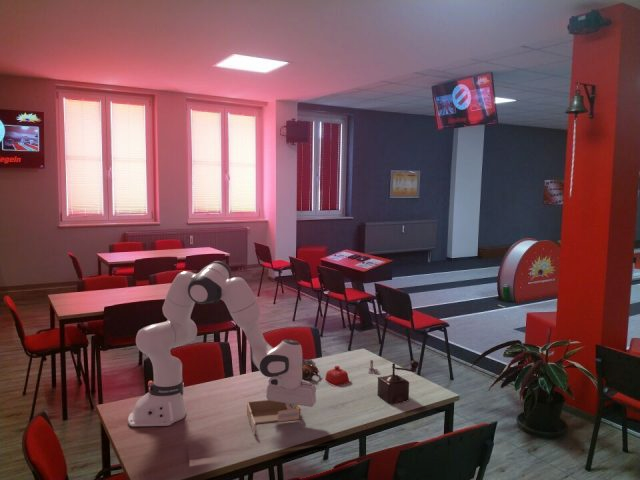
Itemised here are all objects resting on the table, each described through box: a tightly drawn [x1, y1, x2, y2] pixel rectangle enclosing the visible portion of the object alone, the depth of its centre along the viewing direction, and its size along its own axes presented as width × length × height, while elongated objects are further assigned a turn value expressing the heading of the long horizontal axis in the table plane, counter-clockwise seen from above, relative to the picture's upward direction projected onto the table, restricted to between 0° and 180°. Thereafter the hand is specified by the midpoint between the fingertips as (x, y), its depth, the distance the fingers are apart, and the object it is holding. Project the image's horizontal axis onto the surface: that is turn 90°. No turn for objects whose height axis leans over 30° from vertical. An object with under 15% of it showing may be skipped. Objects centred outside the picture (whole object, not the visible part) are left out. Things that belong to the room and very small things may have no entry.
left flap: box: [249, 413, 256, 435], centre depth 189 cm, size 9×1×4 cm, turn 16°
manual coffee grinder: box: [377, 360, 420, 405], centre depth 220 cm, size 16×11×18 cm
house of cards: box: [368, 359, 378, 375], centre depth 250 cm, size 9×9×8 cm
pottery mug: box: [301, 363, 319, 381], centre depth 243 cm, size 12×9×8 cm
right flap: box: [278, 407, 302, 423], centre depth 197 cm, size 9×1×4 cm, turn 110°
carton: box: [246, 399, 301, 426], centre depth 201 cm, size 20×10×5 cm, turn 106°
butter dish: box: [325, 365, 353, 387], centre depth 239 cm, size 12×12×8 cm
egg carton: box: [301, 358, 317, 368], centre depth 256 cm, size 11×8×4 cm
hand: (291, 413), depth 199 cm, fingers closed, pressing on right flap
